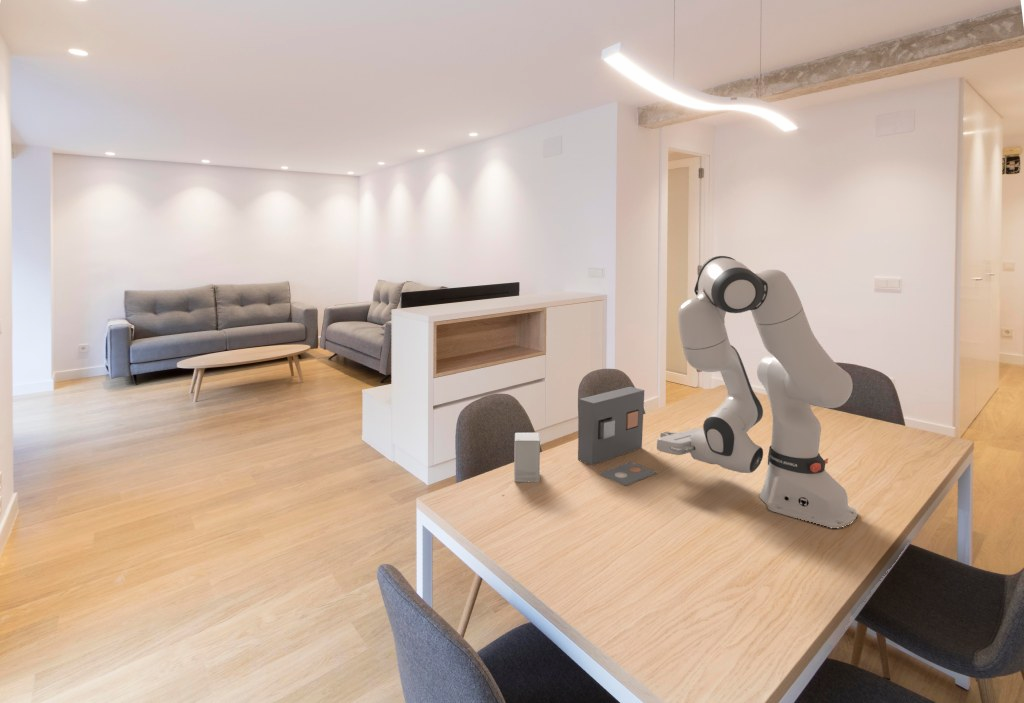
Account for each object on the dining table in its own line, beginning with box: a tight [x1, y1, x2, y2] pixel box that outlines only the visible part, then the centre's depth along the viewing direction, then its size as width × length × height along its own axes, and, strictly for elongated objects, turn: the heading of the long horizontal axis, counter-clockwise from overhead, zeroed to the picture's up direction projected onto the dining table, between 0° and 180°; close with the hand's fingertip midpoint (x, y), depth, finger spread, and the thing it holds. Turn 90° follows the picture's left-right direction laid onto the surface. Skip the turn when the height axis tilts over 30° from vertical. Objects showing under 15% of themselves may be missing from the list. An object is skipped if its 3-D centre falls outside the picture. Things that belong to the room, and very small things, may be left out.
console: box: [577, 386, 645, 466], centre depth 177 cm, size 6×24×20 cm, turn 128°
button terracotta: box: [626, 410, 638, 429], centre depth 179 cm, size 3×5×5 cm, turn 128°
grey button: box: [598, 418, 615, 439], centre depth 170 cm, size 3×5×5 cm, turn 128°
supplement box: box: [513, 432, 541, 483], centre depth 160 cm, size 7×7×13 cm
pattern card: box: [599, 461, 658, 487], centre depth 163 cm, size 10×14×1 cm
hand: (663, 434), depth 167 cm, fingers closed
